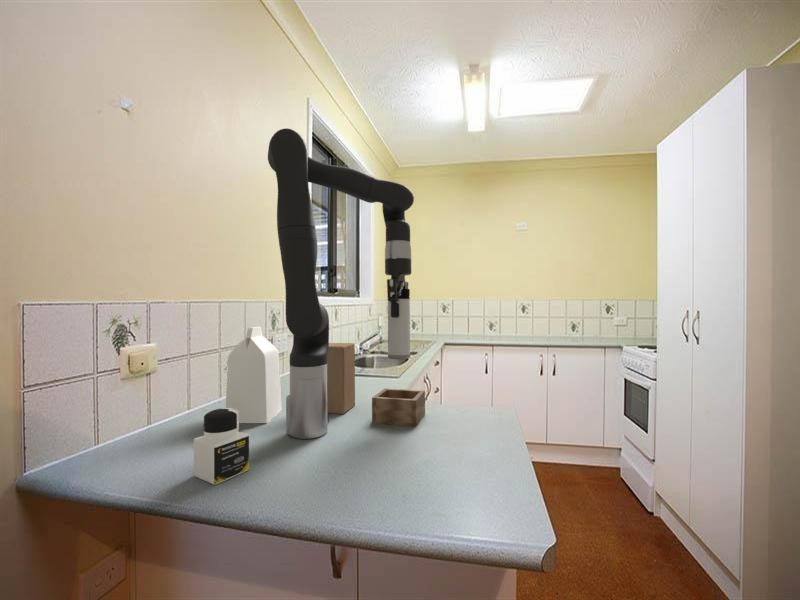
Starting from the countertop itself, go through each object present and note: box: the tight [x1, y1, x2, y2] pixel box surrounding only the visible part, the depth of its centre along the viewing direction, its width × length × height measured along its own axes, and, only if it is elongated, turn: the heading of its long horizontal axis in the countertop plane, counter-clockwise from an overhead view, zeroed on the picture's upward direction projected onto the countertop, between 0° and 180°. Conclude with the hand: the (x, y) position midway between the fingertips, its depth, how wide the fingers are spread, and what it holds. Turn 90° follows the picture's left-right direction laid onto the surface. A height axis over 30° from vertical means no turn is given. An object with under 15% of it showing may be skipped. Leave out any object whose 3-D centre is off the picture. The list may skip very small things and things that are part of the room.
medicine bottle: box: [193, 407, 250, 486], centre depth 70 cm, size 7×7×12 cm
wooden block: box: [327, 342, 356, 415], centre depth 112 cm, size 10×10×20 cm
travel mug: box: [387, 288, 411, 360], centre depth 103 cm, size 6×7×20 cm
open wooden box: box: [371, 388, 426, 427], centre depth 103 cm, size 12×11×7 cm
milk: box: [225, 326, 283, 424], centre depth 105 cm, size 12×12×26 cm
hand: (398, 316), depth 103 cm, fingers closed on travel mug, 6 cm apart
